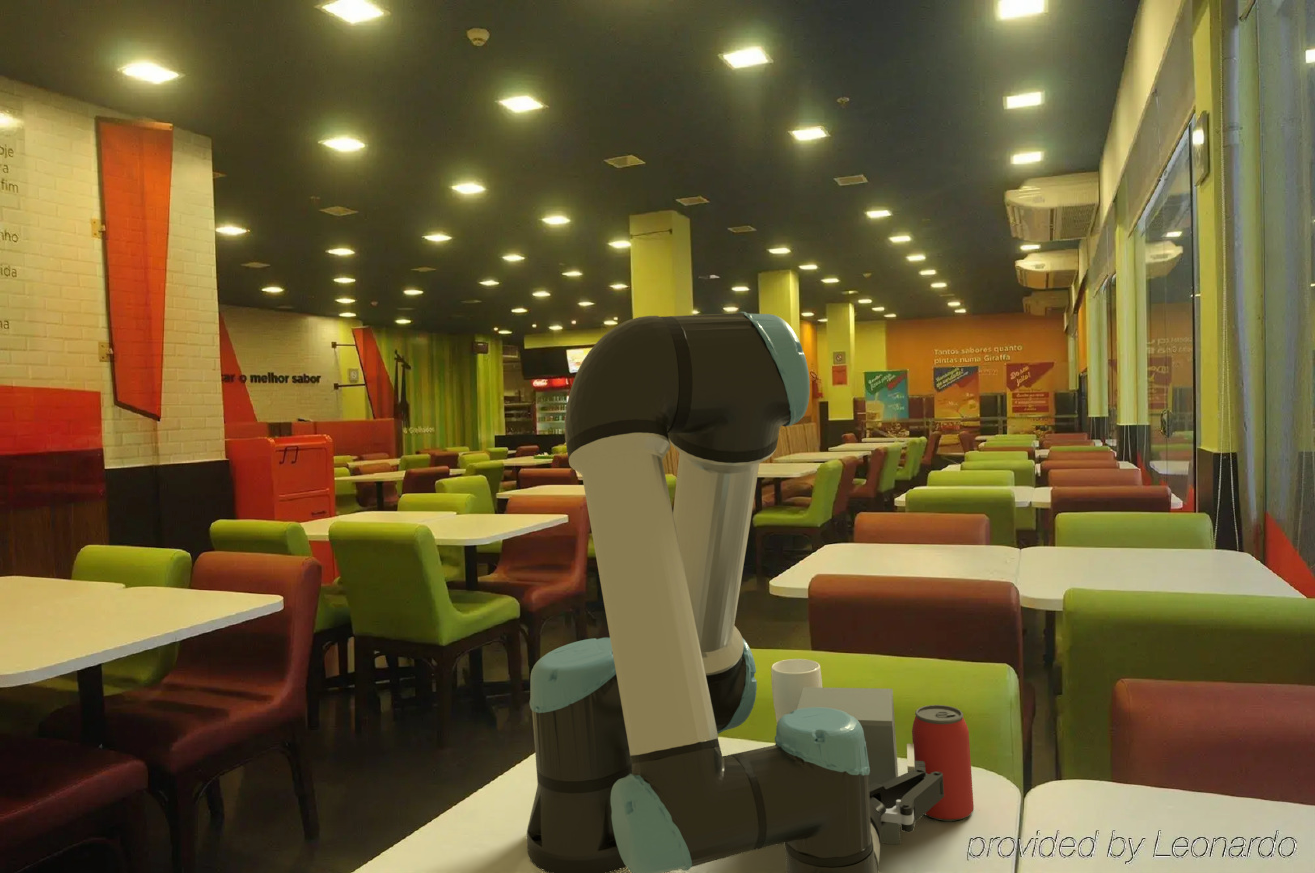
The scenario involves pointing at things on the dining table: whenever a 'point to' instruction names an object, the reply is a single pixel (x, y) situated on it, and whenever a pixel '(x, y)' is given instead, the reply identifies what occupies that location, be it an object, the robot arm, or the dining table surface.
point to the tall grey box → (866, 731)
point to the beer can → (945, 758)
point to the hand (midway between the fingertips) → (852, 752)
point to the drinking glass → (792, 683)
